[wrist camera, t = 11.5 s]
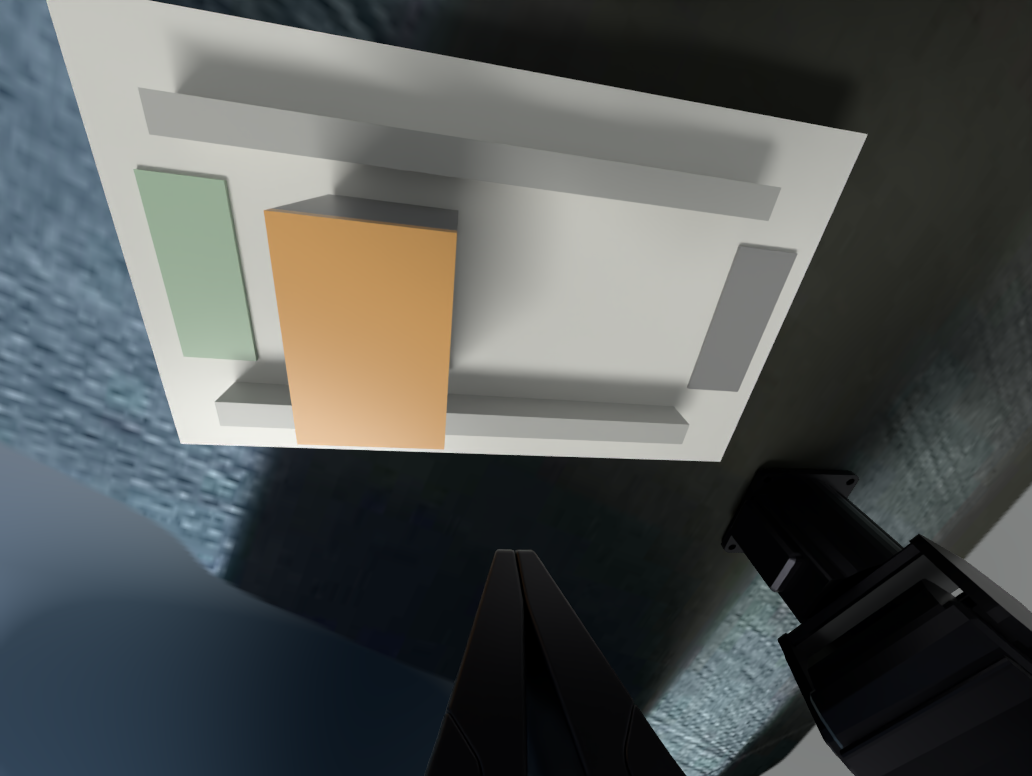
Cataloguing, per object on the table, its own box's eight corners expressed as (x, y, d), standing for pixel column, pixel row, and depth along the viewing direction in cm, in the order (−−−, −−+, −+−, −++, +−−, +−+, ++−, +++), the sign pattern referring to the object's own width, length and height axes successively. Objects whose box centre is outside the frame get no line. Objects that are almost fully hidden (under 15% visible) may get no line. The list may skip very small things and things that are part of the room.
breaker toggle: (458, 210, 14) (457, 233, 9) (448, 374, 16) (444, 449, 12) (329, 194, 13) (263, 210, 9) (342, 367, 16) (297, 444, 11)
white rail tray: (822, 137, 16) (909, 131, 13) (700, 438, 22) (737, 481, 19) (101, 6, 12) (-23, -48, 9) (207, 416, 18) (157, 467, 15)
